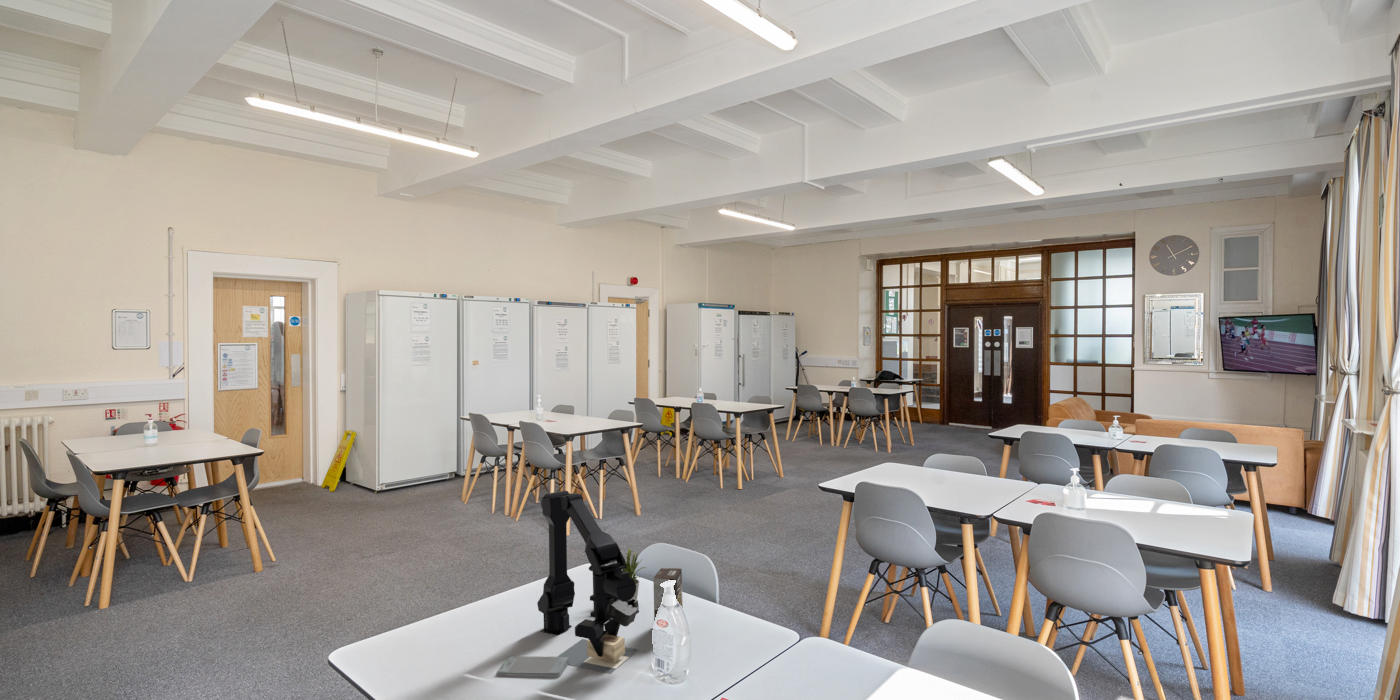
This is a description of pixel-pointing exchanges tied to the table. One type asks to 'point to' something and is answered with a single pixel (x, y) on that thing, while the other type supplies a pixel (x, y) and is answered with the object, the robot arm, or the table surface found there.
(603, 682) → the table surface
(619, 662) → the mat
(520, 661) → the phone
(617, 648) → the cream block with stripe
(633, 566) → the house plant
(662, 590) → the coffee box
